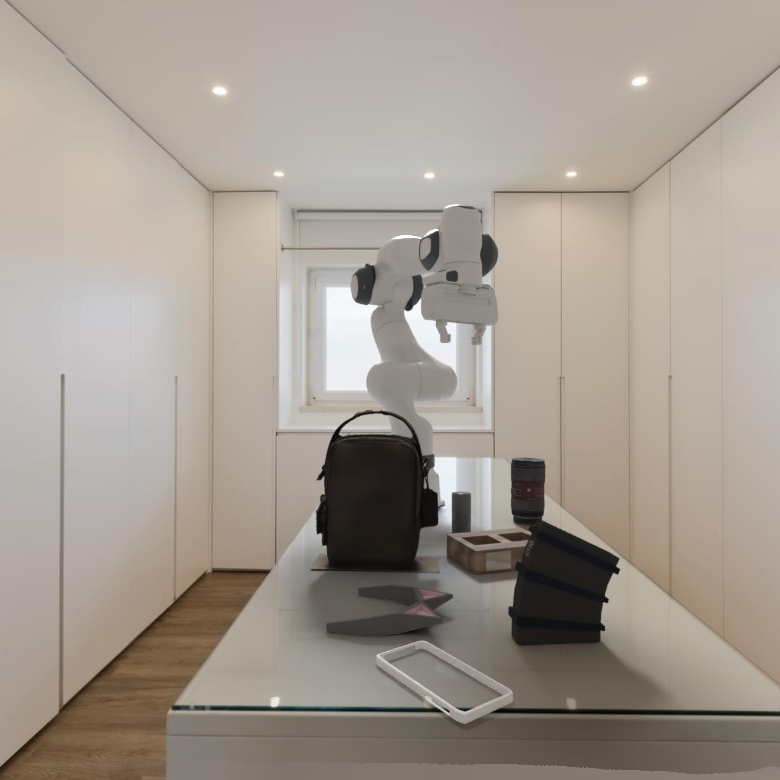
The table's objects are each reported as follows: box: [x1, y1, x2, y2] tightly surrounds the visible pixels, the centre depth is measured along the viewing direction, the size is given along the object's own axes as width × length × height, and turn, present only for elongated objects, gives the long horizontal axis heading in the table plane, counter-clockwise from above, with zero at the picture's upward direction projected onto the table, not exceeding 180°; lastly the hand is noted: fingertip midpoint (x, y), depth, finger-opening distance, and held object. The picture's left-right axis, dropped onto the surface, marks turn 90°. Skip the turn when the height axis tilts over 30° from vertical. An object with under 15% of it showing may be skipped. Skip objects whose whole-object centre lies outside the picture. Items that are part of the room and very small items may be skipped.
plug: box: [451, 491, 472, 534], centre depth 119 cm, size 4×4×10 cm
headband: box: [325, 584, 454, 638], centre depth 79 cm, size 14×3×15 cm
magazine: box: [507, 519, 621, 646], centre depth 72 cm, size 4×13×15 cm, turn 95°
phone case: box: [375, 640, 514, 725], centre depth 62 cm, size 7×1×15 cm
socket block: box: [446, 527, 531, 575], centre depth 105 cm, size 12×16×4 cm
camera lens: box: [510, 457, 546, 525], centre depth 136 cm, size 8×8×15 cm
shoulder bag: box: [310, 409, 441, 574], centre depth 103 cm, size 23×9×28 cm, turn 87°
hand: (461, 343), depth 123 cm, fingers open, 8 cm apart
